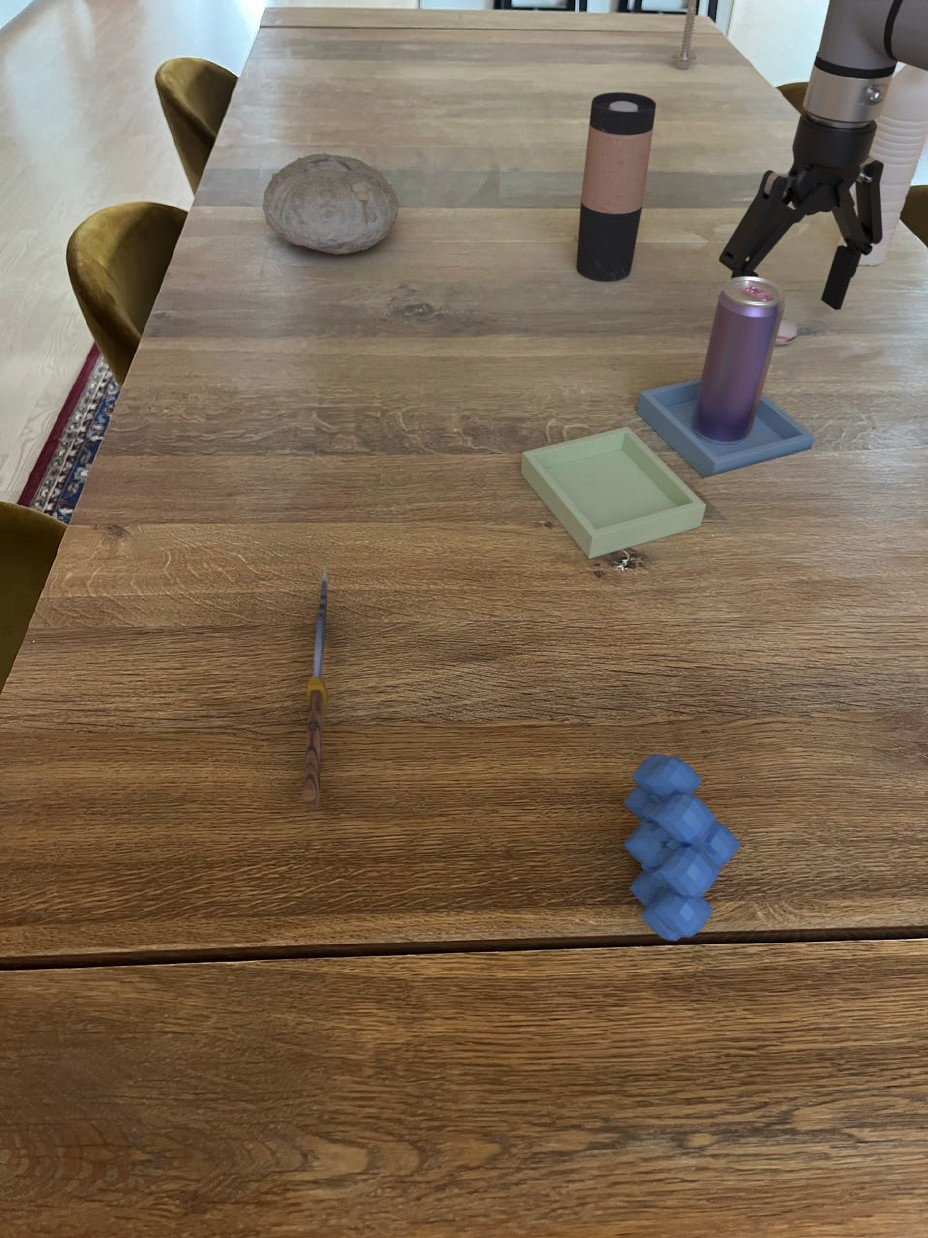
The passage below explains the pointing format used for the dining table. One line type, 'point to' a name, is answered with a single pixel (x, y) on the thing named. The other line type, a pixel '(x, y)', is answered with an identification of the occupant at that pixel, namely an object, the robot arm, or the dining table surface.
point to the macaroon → (786, 332)
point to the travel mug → (614, 183)
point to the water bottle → (897, 150)
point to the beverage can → (738, 358)
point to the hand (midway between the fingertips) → (783, 314)
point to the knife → (316, 709)
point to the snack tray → (611, 491)
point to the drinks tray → (673, 423)
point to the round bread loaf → (330, 204)
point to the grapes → (674, 847)
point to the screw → (686, 40)
